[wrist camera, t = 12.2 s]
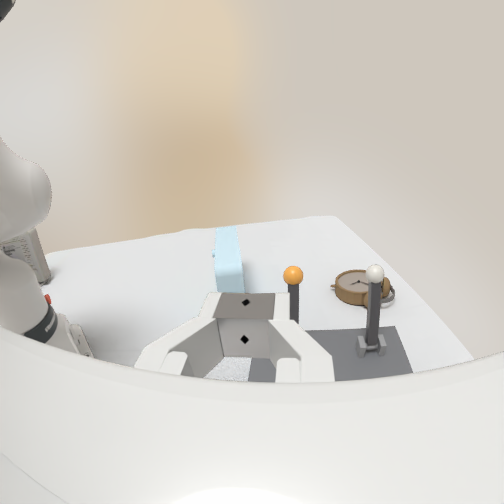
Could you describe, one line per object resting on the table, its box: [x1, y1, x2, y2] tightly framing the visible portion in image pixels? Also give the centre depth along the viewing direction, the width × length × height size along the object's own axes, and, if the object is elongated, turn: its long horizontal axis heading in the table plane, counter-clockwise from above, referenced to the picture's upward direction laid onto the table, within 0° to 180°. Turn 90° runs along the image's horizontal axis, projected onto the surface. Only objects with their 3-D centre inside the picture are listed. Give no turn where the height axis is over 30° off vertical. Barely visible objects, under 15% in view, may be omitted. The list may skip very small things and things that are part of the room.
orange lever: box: [283, 266, 303, 324], centre depth 35 cm, size 3×3×12 cm
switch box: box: [248, 326, 413, 382], centre depth 36 cm, size 10×22×10 cm, turn 83°
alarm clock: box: [331, 270, 395, 308], centre depth 59 cm, size 11×5×15 cm
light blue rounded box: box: [212, 226, 245, 293], centre depth 62 cm, size 23×6×13 cm, turn 6°
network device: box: [0, 228, 50, 288], centre depth 69 cm, size 26×9×20 cm, turn 94°
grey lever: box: [365, 265, 384, 350], centre depth 34 cm, size 3×3×12 cm
